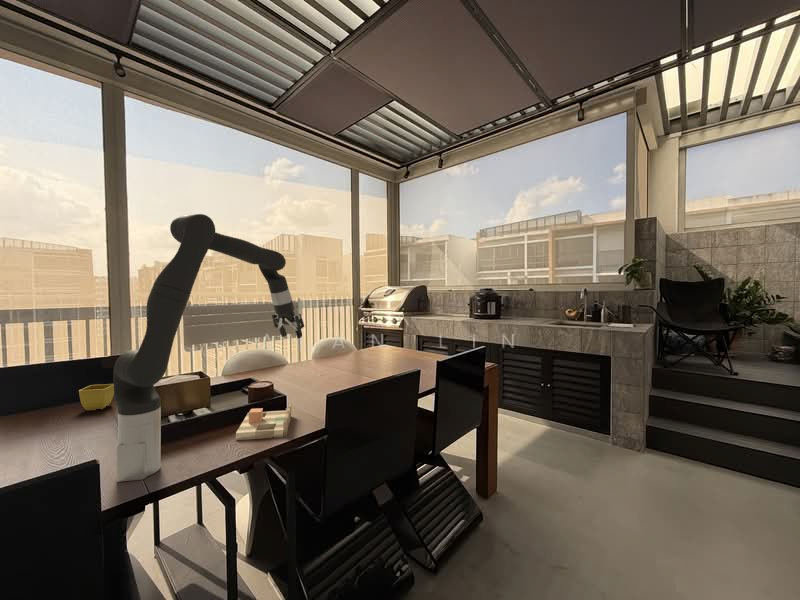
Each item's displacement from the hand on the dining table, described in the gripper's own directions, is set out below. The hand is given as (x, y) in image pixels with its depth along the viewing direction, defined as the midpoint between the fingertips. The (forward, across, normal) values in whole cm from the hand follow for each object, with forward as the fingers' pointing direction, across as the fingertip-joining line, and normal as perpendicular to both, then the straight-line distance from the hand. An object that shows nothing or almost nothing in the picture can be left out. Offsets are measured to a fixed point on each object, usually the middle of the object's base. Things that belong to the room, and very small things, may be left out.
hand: (292, 336), depth 141 cm
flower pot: (+16, -70, -45) cm, 85 cm away
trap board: (+23, +5, -28) cm, 36 cm away
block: (+20, +2, -29) cm, 35 cm away
